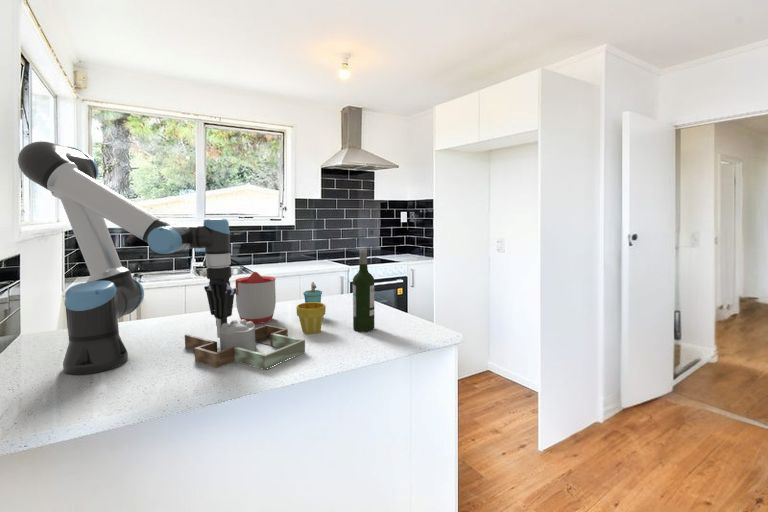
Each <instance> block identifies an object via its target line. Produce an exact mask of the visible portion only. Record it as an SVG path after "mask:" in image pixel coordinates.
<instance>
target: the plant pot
mask: <svg viewBox="0 0 768 512" xmlns="http://www.w3.org/2000/svg"><path fill="white" fill-rule="evenodd" d="M326 308H327V307H326V304H325V303H323V302H321V303H319V302H307V303H305V302H303V303H299V304H298V305H296V316H297V317H298V319H299V324H300V327H301V332H302V333H303V334H307V335H310V334H311V335H313V334H318V333H321V331H322V325H323V320H324V316H325V315H326V310H327V309H326Z"/></svg>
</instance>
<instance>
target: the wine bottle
mask: <svg viewBox="0 0 768 512" xmlns="http://www.w3.org/2000/svg"><path fill="white" fill-rule="evenodd" d="M352 315H353V316H352V320H353V321H352V323H353V324H352V329H353V330H354V331H355V332H357V331H358V332H357V333H369V332H368V331H370V332H373V331H374V330H375V277H374V276H373V275H372V274H371V273H370V272H369V270H368V249H367V248H359V269H358V272H357V273H356V274H355V275H354V276H353V277H352Z"/></svg>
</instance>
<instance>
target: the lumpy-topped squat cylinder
mask: <svg viewBox="0 0 768 512" xmlns="http://www.w3.org/2000/svg"><path fill="white" fill-rule="evenodd" d="M255 328H256V326H255V324H254V323H253V322H252V321H249V322H247V321H246V320H245V319H242V320H241V319H240V321H237V320H236V319H234V320H233V319H232V320H231V321H230V322H229V323H228V322H227V323H223V324H222V326H221V328H220V338H219V345H220V346H219V348H220V350H219V352H220V351H223V350H226V349H229V348H231V347H234V346H235V347H239V348H243V349H246V350H250V351H254V352H255V350H256V346H257V345H256V342H255Z"/></svg>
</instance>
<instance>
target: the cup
mask: <svg viewBox="0 0 768 512" xmlns="http://www.w3.org/2000/svg"><path fill="white" fill-rule="evenodd" d="M316 288H317V285H316V283H315V282H314V281H311V289H310V290H305V291H304V292H303V296H304V297H303V298H304V303H307V302H319V303H322V295H323V291H322V290H319V289H316Z"/></svg>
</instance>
